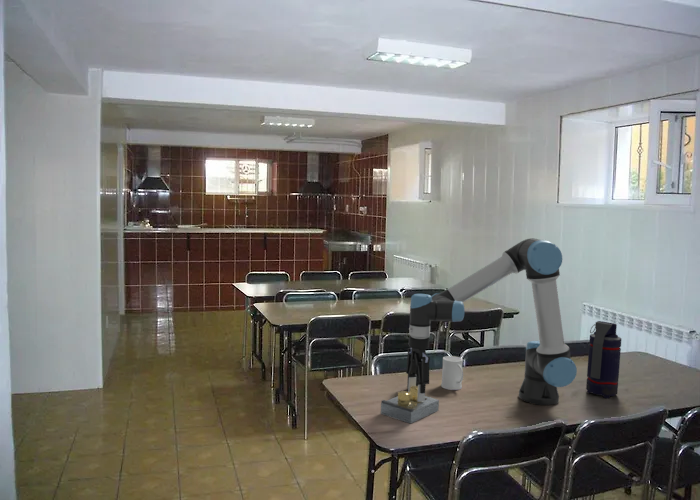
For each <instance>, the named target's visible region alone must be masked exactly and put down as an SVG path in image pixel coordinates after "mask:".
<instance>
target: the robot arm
mask: <svg viewBox="0 0 700 500" xmlns="http://www.w3.org/2000/svg"><path fill="white" fill-rule="evenodd" d="M562 264H563V254H562V251H561V249H560V248H559V247H558V246H557V245H556V244H555V243H553V242H551V241H550V240H546V239H537V238H527V239H524V240H522V241H520V242H518V243H516V244H515V245H513V246H511V247H510V248H508V249H507V250H505V251H504V252H502V256H500V257H498V258H497V259H495V260H494V261H492V262H490V263H488V264H487V265H485V266H484V267H481V269H479V270H476V271H475V272H473V273H472V274H470V275H468V276H467V277H465V278H463V279H462V280H460V281H458V282H457V283H456V284H453V285H451V286H450V287H448V288H447V289H445V290H444V291H441V292H436V293H433V294H432V295H430V294H427V293H426V294H425V293H414V294H412V295H411V296H410V303H409V304H410V305H409V328H408V330H409V333H408V335H409V337H408V347H409V348H407V359H406V369H405V374H406V375H407V378H408V377H409V386H408V389H407V392H410V387H412V386H416V377H414V376H417V375H416V370H417V366H418V375H419V383H418V393H417V401H418V402H422V401H425V396H426V385H429V384H430V362H431V361H430V360H431V357H430V356H427V353H426V350H427V349H429V348H430V336H431V323H432V322H452V323H453V322H454V323H455V322H462V321H463V320H464V317H465V313H466V312H465V311H466V310H465V305H464V303H465V302H466V301H468V300H470V299H472V298H473V297H475V296H476V295H478V294H479V293H481V292H483V291H485V290H486V289H489V288H491V286H493V285H495V284H497V283H498V282H500V281H501V280H503V279H505V278H507V277H508V276H510V275H512V274H516V275H517V274H519V273H520V272H523V271H525V275H526V279H527V280H528V281H529V282H530V283H531V286H532V287H531V288H532V295H533V303H534V309H535V318H536V326H537V332H538V334H537V335H538V340H531V341H528V342H526V347H525V361H524V377H523V380H522V383H521V385H520V388H519V390H518V398H519V399H520V400H522V401H524V402H527V403H529V404H533V405H540V406H553V405H556V404H558V403H559V402H560V394H559V391H558V388H564V387H567V386H568V385H570V384H572V382H574V380H575V379H576V376H577V372H578V370H577V368H578V367H577V365H576V364H575V361H573V359H572V358H571V351H570V347H569V346H568V345H567V344H566V343H565V341H564V340H565V338H564V333H563V332H564V331H563V324H562V315H561V309H560V299H559V293H558V292H559V291H558V286H557V285H558V284H557V279H558V278H559V277H560V276H561V275H560V274H561V273H560V267H562ZM420 362H422V363H420Z"/></svg>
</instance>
